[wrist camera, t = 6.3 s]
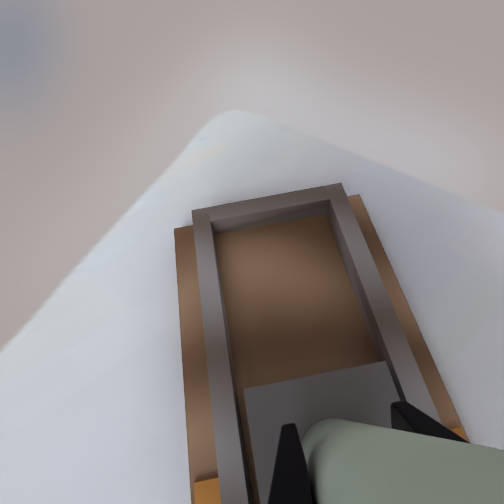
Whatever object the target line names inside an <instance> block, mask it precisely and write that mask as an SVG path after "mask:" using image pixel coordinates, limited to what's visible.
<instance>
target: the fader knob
mask: <svg viewBox="0 0 504 504" xmlns="http://www.w3.org/2000/svg"><path fill="white" fill-rule="evenodd" d="M243 391H244V397H245V404H246V411H247V417H248V424H249V431H250V437H251V444H252V451H253V457H254V464H255V471H256V477H257V484H258V491H259V497H260V504H267V501H268V495H269V490H270V485H271V479H272V474H273V469H274V463H275V458H276V452H277V447H278V442H279V436H280V431H281V427H282V425H285V424H289V423H295V424H296V427H297V430H298V434H299V437H300V441H301V444H302V448H303V451H304V455H305V459H306V463H307V468H308V474H309V481H310V487H311V493H312V500H313V504H504V451H503V450H500V449H496V448H491V447H486V446H480V445H475V444H470V443H464V442H459V441H454V440H449V439H443V438H438V437H433V436H427V435H422V434H417V433H412V432H406V431H401V430H396V429H392V426H391V410H390V406H391V403H393V402H397V401H401V400H400V398H399V395H398V392H397V390H396V387H395V384H394V382H393V379H392V376H391V374H390V371H389V368H388V366H387V363H386V361H381V362H376V363H371V364H366V365H361V366H356V367H351V368H346V369H341V370H336V371H331V372H326V373H322V374H317V375H312V376H307V377H302V378H297V379H292V380H287V381H282V382H277V383H272V384H267V385H262V386H257V387H252V388H247V389H243Z"/></svg>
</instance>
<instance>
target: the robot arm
mask: <svg viewBox="0 0 504 504" xmlns="http://www.w3.org/2000/svg"><path fill="white" fill-rule="evenodd" d="M390 410H391V426H392V429H396V430H401V431H406V432H412V433H417V434H422V435H427V436H433V437H438V438H443V439H449V440H454V441H459V442H464V443H470V442H468V441H467V440H465V439H464V438H462V437H461V436H459V435H458V434H456V433H455V432H453V431H452V430H450V429H448V428H447V427H445V426H444V425H442V424H441V423H439V422H438V421H436V420H435V419H433V418H432V417H430V416H429V415H427V414H425V413H424V412H422V411H421V410H419V409H418V408H416V407H415V406H413V405H412V404H410V403H409V402H407V401H404V400H402V401H397V402H393V403H391V406H390ZM470 444H471V443H470ZM267 504H313V500H312V493H311V487H310V481H309V474H308V468H307V463H306V459H305V455H304V451H303V448H302V444H301V441H300V437H299V434H298V430H297V427H296V424H295V423H289V424H285V425H282V427H281V431H280V436H279V442H278V447H277V452H276V458H275V463H274V469H273V474H272V479H271V485H270V490H269V495H268V501H267Z"/></svg>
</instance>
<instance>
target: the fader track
mask: <svg viewBox="0 0 504 504" xmlns="http://www.w3.org/2000/svg"><path fill="white" fill-rule="evenodd" d="M192 219H193V225H192V226H186V227H181V228H175V229H174V237H175V252H176V268H177V284H178V300H179V315H180V331H181V347H182V363H183V378H184V394H185V410H186V426H187V441H188V457H189V473H190V489H191V504H260V497H259V491H258V484H257V477H256V471H255V464H254V457H253V451H252V444H251V437H250V431H249V424H248V417H247V411H246V404H245V397H244V391H243V389H247V388H252V387H257V386H262V385H267V384H272V383H277V382H282V381H287V380H292V379H297V378H302V377H307V376H312V375H317V374H322V373H326V372H331V371H336V370H341V369H346V368H351V367H356V366H361V365H366V364H371V363H376V362H381V361H386V363H387V366H388V368H389V371H390V374H391V376H392V379H393V382H394V384H395V387H396V390H397V392H398V395H399V398H400V400H401V401H402V400H404V401H407V402H409V403H410V404H412V405H413V406H415V407H416V408H418V409H419V410H421V411H422V412H424V413H425V414H427V415H429V416H430V417H432V418H433V419H435V420H436V421H438V422H439V423H441V424H442V425H444V426H445V427H447V428H448V429H450V430H452V431H453V432H455V433H456V434H458V435H459V436H461V437H462V438H464V439H465V440H467V441H468V442H469V439H468V437H467V435H466V433H465V430H464V428H463V426H462V424H461V422H460V419H459V417H458V415H457V413H456V410H455V408H454V406H453V404H452V401H451V399H450V397H449V395H448V392H447V390H446V388H445V386H444V383H443V381H442V379H441V377H440V374H439V372H438V370H437V368H436V365H435V363H434V361H433V359H432V356H431V354H430V352H429V350H428V347H427V345H426V343H425V341H424V339H423V336H422V334H421V332H420V330H419V327H418V325H417V323H416V321H415V318H414V316H413V314H412V312H411V309H410V307H409V305H408V303H407V300H406V298H405V296H404V294H403V291H402V289H401V287H400V285H399V282H398V280H397V278H396V276H395V273H394V271H393V269H392V267H391V265H390V262H389V260H388V258H387V256H386V253H385V251H384V249H383V247H382V244H381V242H380V240H379V238H378V235H377V233H376V231H375V229H374V226H373V224H372V222H371V220H370V217H369V215H368V213H367V211H366V208H365V206H364V204H363V202H362V199H361V197H360V195H359V194H358V195H353V196H346V193H345V191H344V189H343V186H342V184H341V183H337V184H332V185H327V186H321V187H316V188H310V189H305V190H300V191H294V192H289V193H283V194H278V195H272V196H267V197H262V198H256V199H251V200H245V201H240V202H235V203H229V204H224V205H218V206H213V207H208V208H202V209H197V210H192Z"/></svg>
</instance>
